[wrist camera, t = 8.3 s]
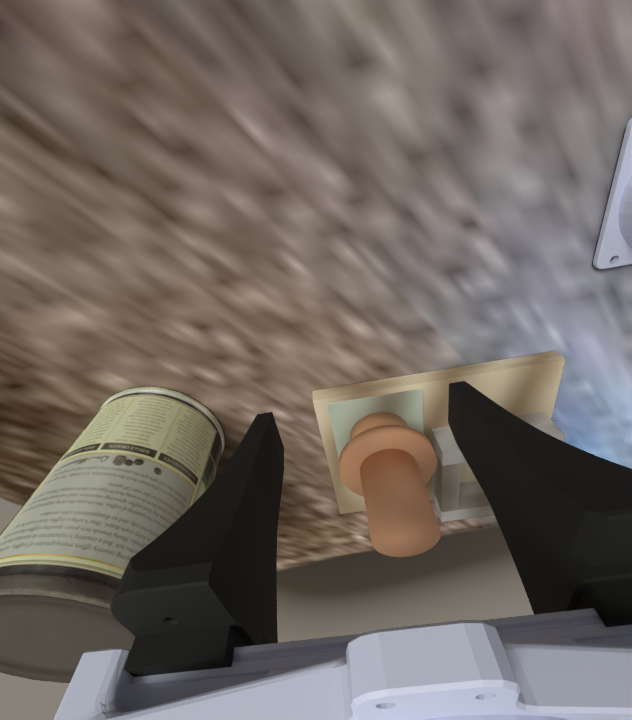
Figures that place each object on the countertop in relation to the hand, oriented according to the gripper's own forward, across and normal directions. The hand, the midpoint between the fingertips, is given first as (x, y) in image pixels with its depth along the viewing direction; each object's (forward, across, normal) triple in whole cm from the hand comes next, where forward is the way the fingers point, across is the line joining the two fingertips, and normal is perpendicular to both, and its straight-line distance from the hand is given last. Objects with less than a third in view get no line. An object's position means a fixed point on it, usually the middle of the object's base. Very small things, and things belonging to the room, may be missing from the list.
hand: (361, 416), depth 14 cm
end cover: (+9, -2, +10) cm, 14 cm away
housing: (+10, -6, +13) cm, 18 cm away
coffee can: (+11, +16, +8) cm, 21 cm away
